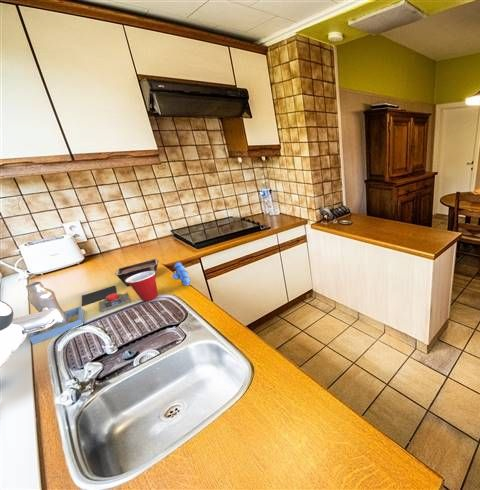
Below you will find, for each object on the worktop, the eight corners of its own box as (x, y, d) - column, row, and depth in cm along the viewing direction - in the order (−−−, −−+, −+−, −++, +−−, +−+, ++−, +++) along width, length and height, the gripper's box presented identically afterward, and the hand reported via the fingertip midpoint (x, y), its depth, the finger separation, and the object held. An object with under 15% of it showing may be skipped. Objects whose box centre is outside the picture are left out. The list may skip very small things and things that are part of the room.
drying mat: (82, 306, 119) (81, 305, 118) (82, 296, 127) (81, 295, 126) (117, 295, 126) (116, 294, 126) (115, 286, 134) (114, 285, 134)
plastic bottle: (54, 324, 108) (26, 282, 100) (75, 319, 110) (50, 278, 102) (44, 334, 102) (14, 291, 94) (67, 328, 105) (40, 285, 97)
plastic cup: (161, 288, 130) (152, 267, 125) (167, 296, 123) (157, 274, 118) (133, 298, 122) (122, 276, 118) (137, 307, 116) (126, 284, 111)
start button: (107, 302, 116) (106, 298, 116) (107, 298, 119) (105, 295, 118) (118, 298, 119) (116, 295, 118) (118, 295, 121) (116, 292, 120)
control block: (101, 313, 114) (97, 307, 112) (100, 304, 119) (97, 299, 118) (130, 302, 120) (128, 296, 119) (128, 295, 126) (126, 289, 125)
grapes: (172, 284, 133) (163, 263, 128) (187, 278, 138) (179, 258, 133) (180, 291, 126) (171, 269, 121) (195, 285, 131) (187, 264, 126)
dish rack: (33, 344, 97) (28, 338, 96) (37, 327, 106) (33, 321, 105) (84, 325, 106) (80, 319, 105) (84, 311, 115) (81, 305, 114)
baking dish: (127, 280, 143) (115, 265, 138) (165, 266, 151) (155, 251, 146) (124, 293, 133) (111, 278, 128) (164, 277, 140) (154, 262, 135)
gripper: (44, 317, 83) (62, 296, 94) (-59, 344, 74) (-25, 317, 85) (55, 333, 85) (71, 311, 96) (-44, 361, 76) (-13, 333, 87)
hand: (25, 314), depth 91 cm, fingers open, 8 cm apart
